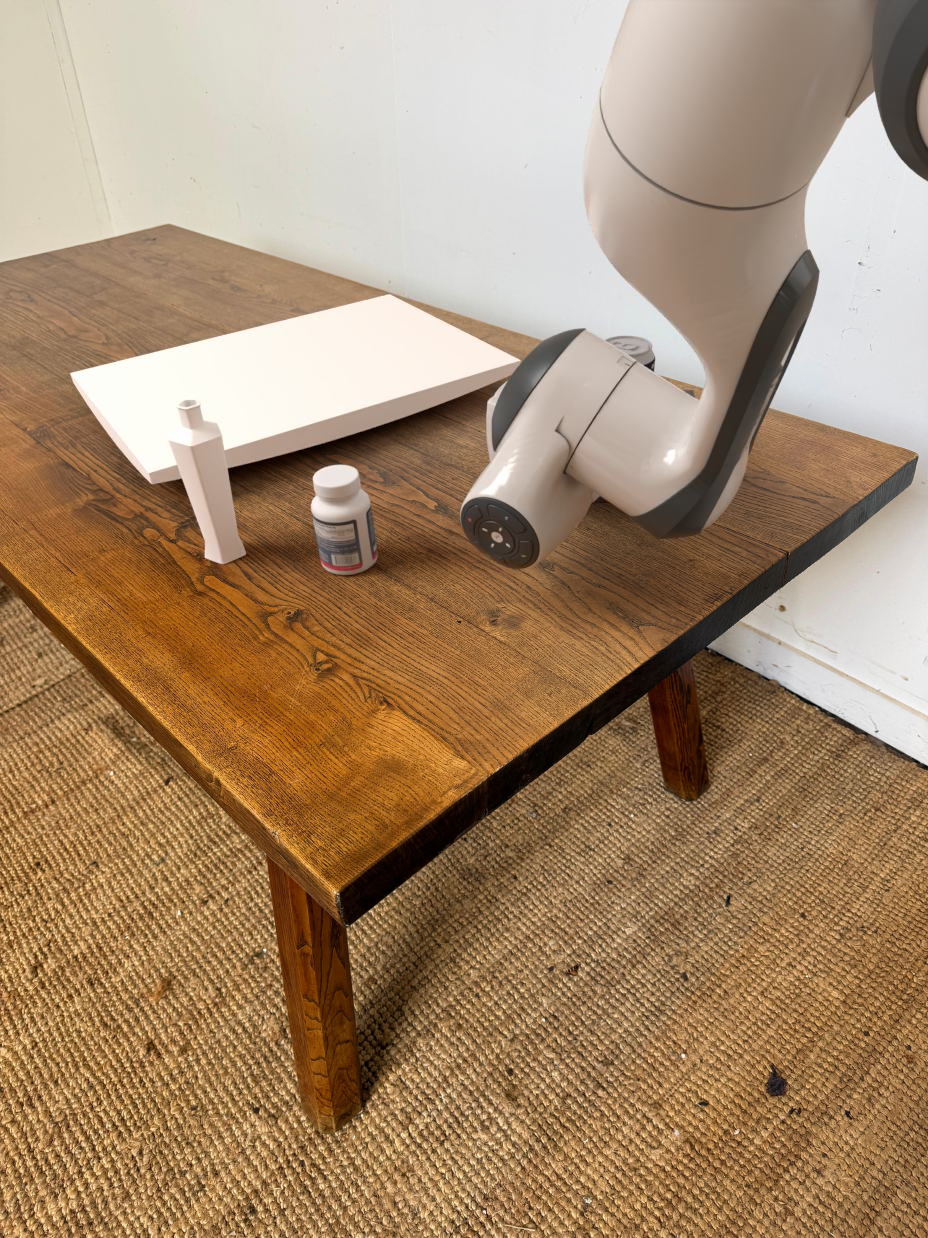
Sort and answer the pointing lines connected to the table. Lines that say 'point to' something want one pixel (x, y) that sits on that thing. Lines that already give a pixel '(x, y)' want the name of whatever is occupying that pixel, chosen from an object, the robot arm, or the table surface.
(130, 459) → the board
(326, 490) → the pill bottle
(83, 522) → the table surface
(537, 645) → the table surface
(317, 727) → the table surface
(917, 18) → the robot arm
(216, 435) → the perfume bottle
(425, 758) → the table surface
